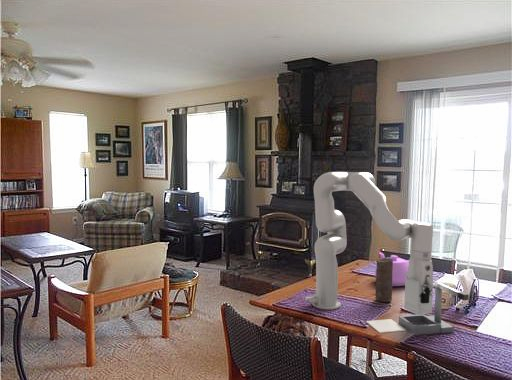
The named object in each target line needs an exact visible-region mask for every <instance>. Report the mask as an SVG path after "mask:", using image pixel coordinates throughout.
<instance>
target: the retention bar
mask: <svg viewBox="0 0 512 380" xmlns="http://www.w3.org/2000/svg"><path fill="white" fill-rule="evenodd" d="M433 284H434V287H433V288H435V287H436V288H440V289H442V291H444V292H447V293H449V294H452V295H453V296H456V297H457V298H458V299H460V300H462V301H469V298H470V296H469V295H470V294H469V293H466V292H464V291H460V290H457V289H455V288H453V287H450V286H449V285H446V284H444V283H443V282H441V281H435V282H434V281H433Z"/></svg>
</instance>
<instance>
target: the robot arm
mask: <svg viewBox="0 0 512 380" xmlns="http://www.w3.org/2000/svg"><path fill="white" fill-rule="evenodd" d="M339 191H341V192H342V191H348V192H349V191H350V192H352V193H353V194H354V195H355V196H356V197H357V198H358V199H359V200H360V202H362V203H363V205H364V206H365V207H366V208H367V209H368V210H369V212H370V215H371V217H372V219H373V221H374V223H375V224H376V225H377V227H378V228H379V230H381V232H383V233H384V235H386V237H388V238H389V239H390V240H392V241H396V242H401V241H403V240H405V239H410V251H409V255H410V256H409V259H408V260H409V267H408V271H407V272H406V276H407V278H412V279H414V280H416V281H418V282H420V285H421V286H422V292H423V293H421V303H429V295H430V293H431V291H432V289H433V290H434V288H435V287H434V280H433V279H434V267H433V260H432V252H433V251H432V249H433V237H434V236H433V235H434V226H433V225H432V223H430V222H425V221H424V222H423V221H414V220H410V219H407V218H406V219H405V218H403V219H399V220H398V218H397V217H395V216H394V214H393V213H392V212H391V211H390V210H389V208H388V205H387V197H386V195H385V194H384V193H383V192H382V191H381V190H380V189H379V188H378V187H377V186H376V179H375V177H374V175H373V174H371V173H370V172H367V171H366V172H365V171H364V172H363V171H362V172H357V171H354V172H353V171H351V172H350V171H329V172H324V173H323V174H321V175H320V176H318V178H317V179H316V180H315V182H314V184H313V199H314V212H315V226H316V228H317V230H318V231H319V232H321V233H327V234H326V235H322V236H320V237H318V238H317V239H316V241H315V242H314V255H315V267H316V268H315V273H316V274H315V293H313V295H312V296H305V301H306V302H310V303H311V304H312V306H313V307H315V308H317V309H321V310H327V311H328V310H329V311H330V310H332V311H333V310H337V309H340V307H341V306H342V303H341V302H340V301H339V300H338V288H339V286H338V280H339V276H338V275H339V273H338V272H339V268H338V267H339V266H338V260H337V256H336V255H338V254H341V253H343V252H344V251H345V250H346V248H347V242H348V239H347V224H346V222H347V221H346V218H345V216H344V214H343V212H341V211H340V210H338V209H336V208H335V200H334V196H333V194H332V193H333V192H339ZM425 282H427V284H425V285H423V284H424V283H425ZM424 287H426V289H425V288H424Z"/></svg>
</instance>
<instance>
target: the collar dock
mask: <svg viewBox="0 0 512 380" xmlns="http://www.w3.org/2000/svg"><path fill="white" fill-rule="evenodd" d="M434 290H435V292H434V314H432V315H426V314H419V315H416V314H411V315H410V314H409V315H399V316H398V324H399V325H400V326H402V327H403V328H404V329H406V331H408V332H409V333H411V334H413V335H414V336H415V335H416V336H418V335H428V334H439V333H441V334H445V333H454V330H455V329H454V326H453V325H451V324H449V323H447V322H446V321H444V320H442V307H443V306H442V305H443V304H442V303H443V302H442V301H443V300H442V299H443V290H442V289H440V288H436V287H434ZM421 323H422V325H421ZM415 324H420V325H415Z"/></svg>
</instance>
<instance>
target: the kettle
mask: <svg viewBox="0 0 512 380" xmlns="http://www.w3.org/2000/svg"><path fill="white" fill-rule="evenodd" d="M378 254H379V255H380V258H386V257H385V254H384V253H383V252H378ZM390 258H391V259H393V272H392V288H394V287H405V278H407V276H406V272H407V271H408V267H409V260H410V259H408V260H407V259H403V258H401V257H399V256H398V255H394V254H391V255H390ZM374 273H375V274H374V277H375V278H376V271H375V272H374Z"/></svg>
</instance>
